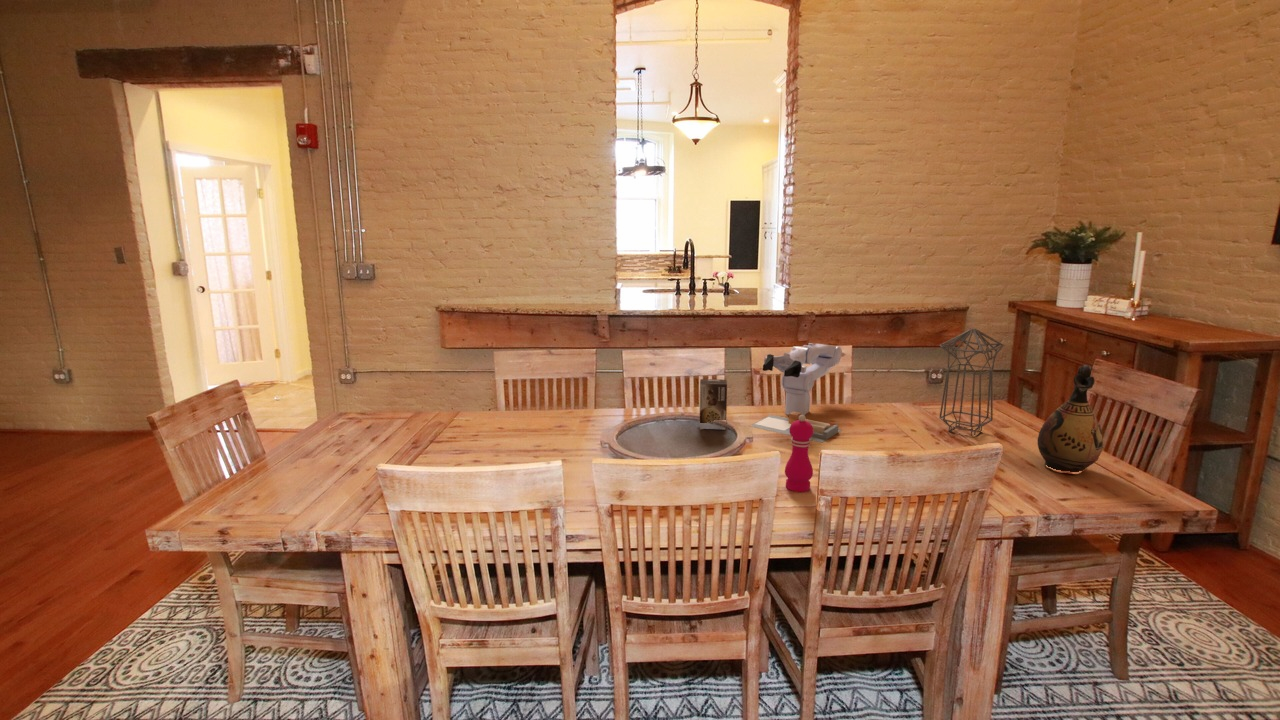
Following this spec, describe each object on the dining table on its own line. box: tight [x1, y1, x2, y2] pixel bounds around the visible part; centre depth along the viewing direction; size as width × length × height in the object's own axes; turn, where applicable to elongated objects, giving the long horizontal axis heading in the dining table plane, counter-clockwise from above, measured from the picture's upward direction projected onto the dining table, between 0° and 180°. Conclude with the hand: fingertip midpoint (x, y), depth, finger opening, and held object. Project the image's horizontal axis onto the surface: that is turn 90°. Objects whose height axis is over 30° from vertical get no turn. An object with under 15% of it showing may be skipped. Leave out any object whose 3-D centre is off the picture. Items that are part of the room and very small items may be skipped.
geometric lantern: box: [939, 328, 1005, 436], centre depth 214 cm, size 16×16×35 cm
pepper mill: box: [784, 415, 814, 493], centre depth 171 cm, size 7×7×20 cm
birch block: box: [788, 412, 831, 434], centre depth 215 cm, size 5×13×5 cm, turn 52°
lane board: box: [749, 414, 842, 443], centre depth 218 cm, size 16×26×3 cm, turn 52°
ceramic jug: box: [1037, 364, 1104, 472], centre depth 184 cm, size 17×15×30 cm
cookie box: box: [699, 378, 728, 423], centre depth 219 cm, size 9×6×16 cm
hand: (774, 370), depth 214 cm, fingers open, 7 cm apart
